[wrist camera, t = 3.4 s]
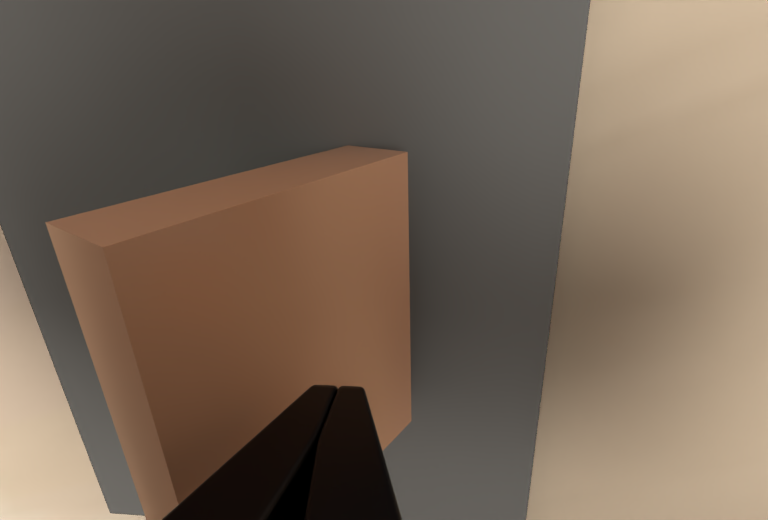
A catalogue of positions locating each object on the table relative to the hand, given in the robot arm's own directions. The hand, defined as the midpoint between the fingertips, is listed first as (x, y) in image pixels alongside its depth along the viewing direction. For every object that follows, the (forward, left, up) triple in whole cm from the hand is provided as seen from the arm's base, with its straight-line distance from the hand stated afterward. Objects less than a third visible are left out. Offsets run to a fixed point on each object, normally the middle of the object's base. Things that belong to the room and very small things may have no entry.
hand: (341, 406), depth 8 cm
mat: (-1, +3, -5) cm, 6 cm away
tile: (0, 0, -4) cm, 4 cm away
